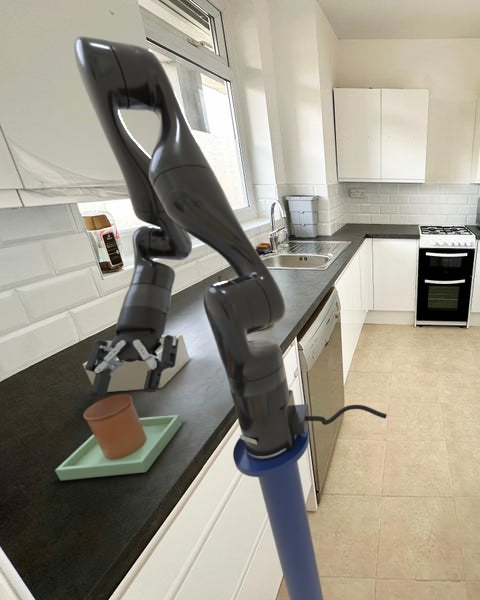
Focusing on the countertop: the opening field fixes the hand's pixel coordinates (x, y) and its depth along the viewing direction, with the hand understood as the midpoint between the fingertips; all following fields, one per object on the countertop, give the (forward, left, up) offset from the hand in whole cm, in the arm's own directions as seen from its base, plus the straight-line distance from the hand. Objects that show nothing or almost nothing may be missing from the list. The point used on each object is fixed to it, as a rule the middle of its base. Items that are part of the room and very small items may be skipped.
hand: (124, 393), depth 57 cm
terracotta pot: (0, +4, -9) cm, 10 cm away
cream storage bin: (+12, -21, -10) cm, 26 cm away
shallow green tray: (0, +4, -10) cm, 10 cm away
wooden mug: (-5, -47, -10) cm, 49 cm away
